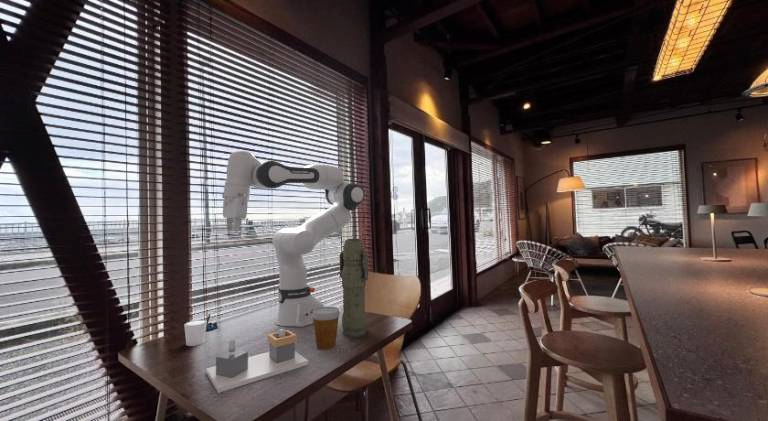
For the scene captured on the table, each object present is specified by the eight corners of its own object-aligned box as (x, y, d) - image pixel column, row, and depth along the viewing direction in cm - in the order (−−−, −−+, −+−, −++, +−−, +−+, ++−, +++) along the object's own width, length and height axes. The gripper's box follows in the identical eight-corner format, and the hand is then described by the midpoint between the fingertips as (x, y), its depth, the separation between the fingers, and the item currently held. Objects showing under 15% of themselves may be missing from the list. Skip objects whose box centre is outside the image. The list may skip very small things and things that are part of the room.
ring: (287, 336, 103) (287, 329, 103) (296, 341, 98) (296, 335, 98) (267, 341, 99) (267, 334, 99) (275, 347, 94) (275, 340, 94)
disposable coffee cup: (329, 338, 117) (329, 304, 117) (346, 346, 110) (345, 309, 110) (306, 346, 110) (305, 310, 110) (322, 354, 103) (321, 316, 104)
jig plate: (288, 350, 107) (288, 319, 107) (308, 364, 96) (307, 330, 96) (206, 372, 92) (206, 336, 92) (218, 392, 81) (218, 351, 81)
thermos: (346, 327, 128) (345, 238, 129) (373, 331, 124) (372, 238, 125) (334, 335, 120) (333, 239, 121) (363, 339, 116) (362, 240, 117)
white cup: (196, 347, 111) (196, 326, 111) (179, 345, 112) (179, 325, 112) (211, 339, 117) (211, 320, 118) (194, 338, 119) (194, 319, 119)
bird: (191, 326, 126) (208, 311, 131) (195, 334, 131) (211, 319, 136) (206, 337, 124) (222, 322, 129) (210, 345, 129) (225, 330, 134)
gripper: (253, 193, 116) (249, 232, 115) (238, 196, 132) (234, 230, 131) (235, 190, 112) (230, 231, 111) (221, 193, 128) (217, 229, 127)
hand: (232, 230), depth 121 cm, fingers open, 8 cm apart
